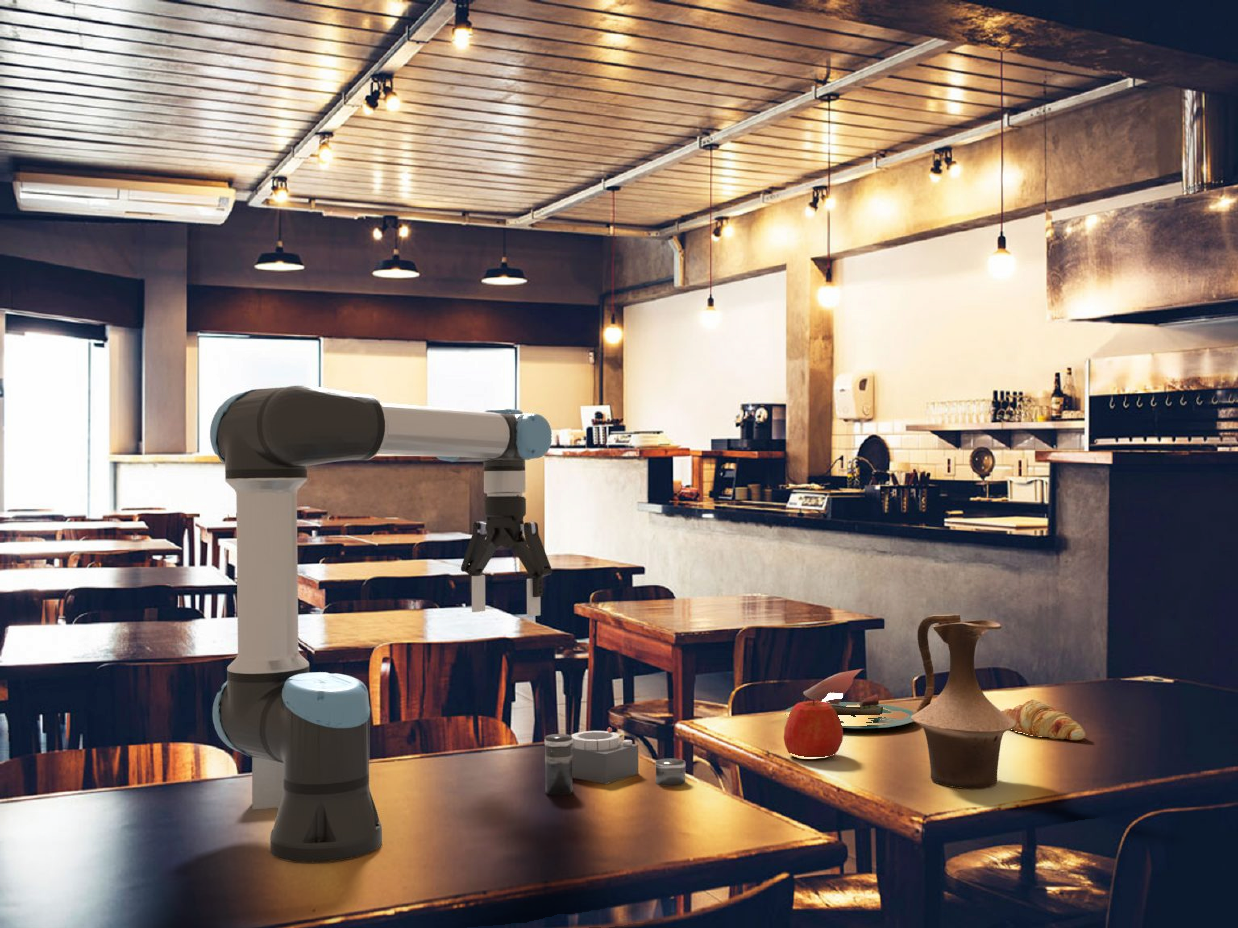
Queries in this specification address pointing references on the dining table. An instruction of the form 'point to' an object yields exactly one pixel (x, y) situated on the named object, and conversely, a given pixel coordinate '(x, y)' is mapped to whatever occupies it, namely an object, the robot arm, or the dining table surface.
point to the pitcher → (960, 709)
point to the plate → (834, 692)
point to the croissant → (1044, 721)
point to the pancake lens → (670, 772)
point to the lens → (558, 764)
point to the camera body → (603, 756)
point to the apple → (813, 730)
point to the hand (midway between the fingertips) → (505, 613)
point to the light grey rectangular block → (266, 783)
